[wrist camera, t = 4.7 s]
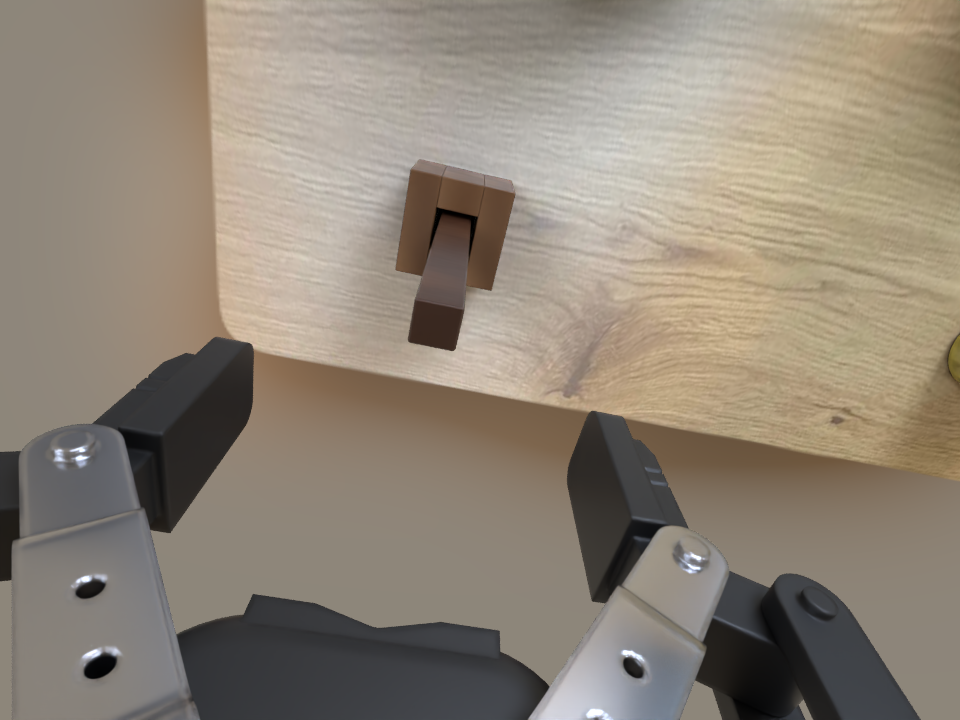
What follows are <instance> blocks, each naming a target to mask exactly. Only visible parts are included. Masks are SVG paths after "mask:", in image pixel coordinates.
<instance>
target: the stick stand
mask: <svg viewBox="0 0 960 720" xmlns="http://www.w3.org/2000/svg"><path fill="white" fill-rule="evenodd" d="M514 197H515V191H514V188H513V185H512V182H511V180H506V179H502V178H498V177H494V176H489V175H484V174H481V173H476V172H472V171H468V170H464V169H459V168H455V167H451V166H447V167H446V165H442V164H438V163H434V162H430V161H425V160H421V159H419V160H418V162H417V163H416V164H415V165H414V166H413V167H412V169H411V170H410V177H409V184H408V190H407V197H406V203H405V210H404V216H403V223H402V230H401V236H400V243H399V249H398V256H397V262H396V270H397V271H401V272H406V273H411V274H415V275H420V276H422V275H423V272H424V269H425V266H426V262H427V259H428V256H429V253H430V250H431V246H432V243H433V240H434V237H435V234H436V231H435V227H436V222H437V216H438V211H439V208H441V209H445V210H449V211H454V212H458V213H463V214H467V215H472V216H475V221H474V225H473V230H472V234H471V239H470V242H469V255H468V268H467V282H466V286H471V287H476V288H480V289H485V290H490V291H491V290H492V286H493V282H494V278H495V274H496V270H497V266H498V262H499V258H500V254H501V250H502V246H503V242H504V238H505V234H506V230H507V226H508V222H509V217H510V213H511V209H512V205H513V201H514Z"/></svg>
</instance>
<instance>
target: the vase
mask: <svg viewBox="0 0 960 720" xmlns="http://www.w3.org/2000/svg"><path fill="white" fill-rule="evenodd" d="M948 366H949V369H950V372H951V374H952V376H953V378H954V379H955V380H957V381H958V382H959V383H960V335H959V336H958V337H957V339H956V340H955V342H954V343H953V345H952V347H951V350H950V353H949V356H948Z"/></svg>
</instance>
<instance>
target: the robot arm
mask: <svg viewBox="0 0 960 720" xmlns="http://www.w3.org/2000/svg"><path fill="white" fill-rule="evenodd" d="M253 364H254V351H253V346H252V344H250V343H246V342H241V341H236V340H231V339H225V338H221V337H215V338H213V339H212V340H211V341H210V342H209V343H208V344H207V345H205V346H204V347H203V348H202V349H201V350H200V351H199V352H198V353H197V354H196V355H194V354H188V353H185V354H183V355H180V356H178V357H175V358H173V359H171V360H168V361H165V362H163V363H162V364H161V365H160V366H159V367H158V368H156V369H155V370H154V371H153V372H152V373H151V374H149V377H148V378H145V379H144V380H142V381H141V382H140V383H139V384H138V385H137V386H136V389H132V390H131V391H130V392H129V393H127V394H126V395H125V396H124V397H123V398H122V399H120V400H119V401H118V402H117V403H116V404H115V405H113V406H112V407H111V408H110V409H109V410H108V411H106V412H105V413H104V414H103V415H102V416H101V417H100V418H98V419H97V420H96V421H95V422H94V423H92V424H77V425H70V426H65V427H61V428H57V429H54V430H51V431H48V432H46V433H44V434H42V435H40V436H38V437H36V438H34V439H33V440H31V441H30V442H29V443H28V444H27V445H26V446H25V447H24V448H23V449H22V451H16V452H0V581H8V580H12V720H680V717H681V715H682V712H683V710H684V707H685V705H686V702H687V699H688V697H689V694H690V691H691V689H692V686H693V684H694V681H695V680H696V681H698V682H700V683H702V684H704V685H706V686H708V687H710V688H712V689H713V692H714V695H715V698H716V701H717V704H718V708H719V710H720V714H721V716H722V720H805V718H804V716H803V714H802V711H801V709H800V707H799V704H800V703H801V701H802V700H803V699H804V701H805V703H806V705H807V707H808V709H809V712H810V714H811V716H812V718H813V720H920V718H919V716H918V715H917V713H916V712H915V710H914V709H913V707H912V706H911V704H910V703H909V701H908V699H907V698H906V696H905V695H904V693H903V692H902V691H901V689H900V687H899V685H898V684H897V682H896V681H895V679H894V678H893V676H892V675H891V673H890V672H889V670H888V668H887V667H886V665H885V664H884V662H883V661H882V659H881V658H880V656H879V654H878V653H877V651H876V650H875V648H874V647H873V645H872V644H871V642H870V640H869V639H868V637H867V636H866V634H865V633H864V631H863V630H862V628H861V627H860V625H859V623H858V622H857V620H856V619H855V617H854V616H853V614H852V613H851V612H850V610H849V609H848V608H847V606H846V605H845V604H844V603H843V602H842V601H841V600H840V599H839V598H838V597H837V596H836V595H835V594H833V593H832V592H831V591H830V590H828V589H827V588H825V587H824V586H822V585H821V584H819V583H817V582H815V581H813V580H811V579H809V578H807V577H804V576H801V575H798V574H783V575H780V576H779V577H778V578H777V579H776V581H775V582H774V583H773V585H772V586H771V587H770V588H768V587H766V586H764V585H761V584H759V583H756V582H754V581H752V580H749V579H747V578H745V577H742V576H740V575H738V574H735V573H733V572H731V571H729V567H728V564H727V561H726V559H725V557H724V556H723V555H722V553H721V552H720V550H719V549H718V548H717V547H716V546H715V545H714V544H713V543H712V542H710V541H709V540H708V539H707V538H705V537H704V536H702V535H700V534H699V533H697V532H695V531H693V530H690V529H689V528H688V526H687V524H686V522H685V519H684V517H683V515H682V513H681V511H680V509H679V507H678V504H677V502H676V500H675V498H674V496H673V494H672V491H671V489H670V488H669V487H668V483H667V481H666V479H665V477H664V474H662V470H661V468H660V466H659V464H658V462H657V459H656V457H655V455H654V454H653V453H652V452H651V451H650V450H649V449H648V448H647V447H646V446H645V445H644V444H643V443H642V442H641V441H640V440H635V439H633V438H632V436H631V433H630V431H629V429H628V426H627V424H626V422H625V419H624V418H623V417H622V416H617V415H612V414H607V413H602V412H597V411H591V412H590V413H589V414H588V416H587V418H586V421H585V423H584V426H583V428H582V431H581V434H580V436H579V439H578V442H577V444H576V447H575V450H574V452H573V454H572V457H571V460H570V463H569V467H568V474H567V485H568V490H569V495H570V500H571V505H572V509H573V514H574V519H575V524H576V528H577V533H578V538H579V542H580V547H581V552H582V557H583V561H584V566H585V570H586V576H587V580H588V585H589V590H590V595H591V599H592V601H593V602H600V603H606V604H605V605H604V607H603V608H602V610H601V611H600V613H599V615H598V616H597V617H596V619H595V620H594V622H593V623H592V625H591V626H590V628H589V629H588V631H587V632H586V634H585V635H584V637H583V638H582V640H581V641H580V643H579V644H578V646H577V648H576V649H575V650H574V652H573V653H572V655H571V656H570V658H569V659H568V661H567V662H566V664H565V665H564V667H563V668H562V670H561V671H560V673H559V674H558V676H557V677H556V679H555V680H554V682H553V683H552V685H551V686H550V687H549V686H548V684H547V683H546V682H545V681H544V680H543V679H541V678H540V677H539V676H538V675H537V674H536V673H535V672H533V671H532V670H531V669H529V668H528V667H526V666H525V665H524V664H522V663H521V662H519V661H517V660H515V659H514V658H512V657H510V656H509V655H506V654H504V653H502V652H500V631H497V630H491V629H484V628H477V627H470V626H463V625H457V624H450V623H444V622H437V623H427V624H417V625H408V626H398V627H397V626H396V627H387V628H376V627H372V626H369V625H366V624H364V623H362V622H359V621H357V620H354V619H352V618H349V617H347V616H345V615H342V614H339V613H337V612H335V611H333V610H330V609H328V608H325V607H323V606H321V605H318V604H315V603H309V602H303V601H295V600H289V599H282V598H275V597H269V596H262V595H255V594H253V595H252V597H251V600H250V602H249V604H248V606H247V608H246V611H245V613H244V615H235V616H229V617H225V618H220V619H215V620H212V621H209V622H205V623H202V624H199V625H197V626H194V627H192V628H189V629H187V630H184V631H182V632H180V633H178V634H176V632H175V628H174V625H173V620H172V617H171V613H170V608H169V604H168V600H167V596H166V592H165V588H164V584H163V580H162V576H161V572H160V568H159V564H158V560H157V556H156V552H155V548H154V544H153V540H152V536H151V532H150V530H153V531H160V532H166V533H171V531H172V530H173V528H174V527H175V526H176V524H177V522H178V521H179V520H180V518H181V517H182V516H183V514H184V513H185V511H186V510H187V509H188V507H189V506H190V504H191V503H192V501H193V500H194V499H195V497H196V496H197V494H198V493H199V491H200V490H201V489H202V487H203V486H204V484H205V483H206V482H207V480H208V478H209V477H210V476H211V474H212V473H213V472H214V470H215V469H216V467H217V466H218V464H219V463H220V462H221V460H222V459H223V457H224V456H225V454H226V453H227V452H228V450H229V449H230V447H231V446H232V444H233V443H234V442H235V440H236V439H237V437H238V436H239V435H240V433H241V432H242V430H243V429H244V427H245V426H246V424H247V422H248V419H249V416H250V413H251V409H252V403H253Z"/></svg>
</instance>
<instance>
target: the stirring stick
mask: <svg viewBox="0 0 960 720" xmlns="http://www.w3.org/2000/svg"><path fill="white" fill-rule="evenodd" d="M470 229H471V215H467V214H463V213H458V212H454V211H449V210H445V209H443V211H442V214H441V218H440V221H439V224H438V227H437V230H436V234H435V237H434V240H433V243H432V246H431V250H430V253H429V256H428V259H427V262H426V266H425V269H424V272H423V275H422V278H421V282H420V285H419V288H418V291H417V294H416V298H415V301H414V307H413V313H412V319H411V324H410V330H409V336H408V342H410V343H415V344H420V345H425V346H430V347H435V348H440V349H445V350H450V351H454V350H455V349H456V345H457V341H458V336H459V332H460V327H461V323H462V318H463V314H464V308H465V295H466V282H467V268H468V255H469V242H470Z"/></svg>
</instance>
